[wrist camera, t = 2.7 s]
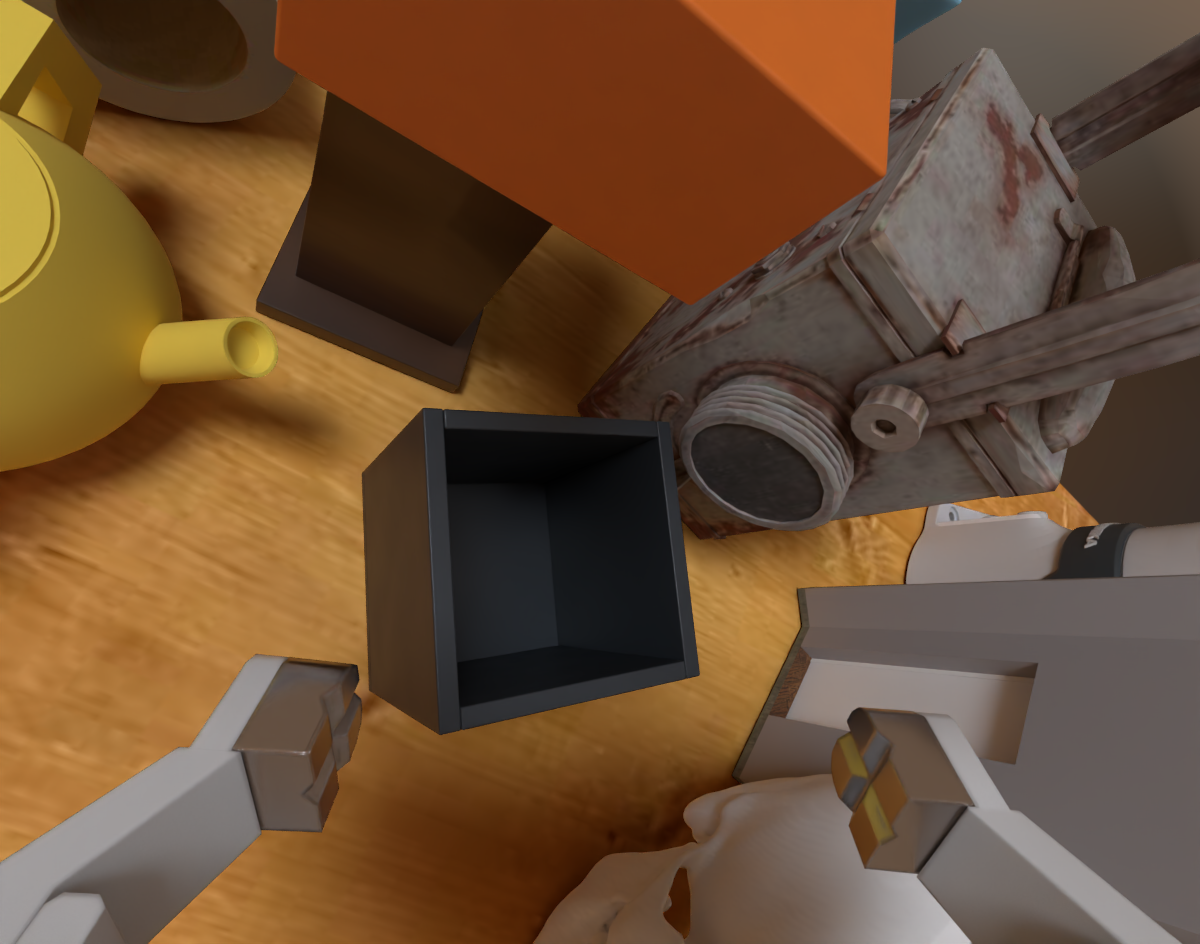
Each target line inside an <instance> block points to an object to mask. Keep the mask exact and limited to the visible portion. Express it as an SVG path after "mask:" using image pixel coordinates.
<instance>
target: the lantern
mask: <svg viewBox="0 0 1200 944" xmlns="http://www.w3.org/2000/svg"><path fill="white" fill-rule="evenodd" d="M1199 106H1200V33H1199V34H1197V35H1195V36H1194V37H1192V38H1190V39H1188V40H1187V41H1185V42H1183V43H1181V44H1180V45H1178V46H1176V47H1175V48H1173V49H1171V50H1170V51H1168V52H1166V53H1164V54H1163V55H1161V56H1159V57H1157V58H1156V59H1154V60H1152V61H1150V62H1149V63H1147V64H1145V65H1143V66H1142V67H1140V68H1138V69H1137V70H1135V71H1133V72H1131V73H1130V74H1128V75H1126V76H1124V77H1123V78H1121V79H1119V80H1118V81H1116V82H1114V83H1112V84H1111V85H1109V86H1107V87H1105V88H1104V89H1102V90H1100V91H1099V92H1097V93H1095V94H1093V95H1092V96H1090V97H1088V98H1087V99H1085V100H1083V101H1081V102H1080V103H1078V104H1076V105H1075V106H1073V107H1071V108H1069V109H1068V110H1066V111H1064V112H1062V113H1061V114H1059V115H1057V116H1056V117H1054V118H1052V127H1051V128H1049V127H1050V124H1049V123H1048V122H1047V121H1046V119H1045V118H1044V117H1043V115H1042V114H1041V113H1040V114H1038V115H1037V116H1036V118H1035V120H1034V118H1033V117H1032V115H1031V113H1030V112H1029V110H1028V108H1027V106H1026V105H1025V103H1024V101H1023V100H1022V98H1021V96H1020V94H1019V93H1018V91H1017V89H1016V87H1015V86H1014V84H1013V83H1012V81H1011V79H1010V77H1009V76H1008V74H1007V72H1006V70H1005V69H1004V67H1003V65H1002V63H1001V62H1000V60H999V58H998V57H997V55H996V53H995V52H994V50H993V49H987V48H982V49H980V50H979V51H978V52H977V53H975V54H974V55H973V56H971V57H970V58H969V59H967V60H966V61H965V62H963V63H962V64H960V65H959V67H956V68H954V69H953V70H952V71H950V72H949V73H948V74H946V76H945V77H944V79H943V80H942V81H941V82H940V83H939V84H937V85H936V86H934V87H933V88H932V89H930V90H929V91H928V92H926V93H925V94H924V95H922V96H921V97H920V98H919V97H918V98H915V99H912V100H900V99H895V100H890V119H889V137H888V156H887V173H886V175H885V176H884V177H883V179H881V180H880V181H878V182H877V183H875V184H874V185H872V186H871V187H869V188H868V189H866V190H865V191H863V192H862V193H860V194H859V195H857V196H856V197H854V198H853V199H851V200H850V201H848V202H847V203H845V204H844V205H842V206H841V207H839V208H838V209H836V210H835V211H833V212H832V213H830V214H829V215H827V216H826V217H824V218H823V219H821V220H820V221H818V222H817V223H815V224H814V225H812V226H811V227H809V228H808V229H806V230H805V231H803V232H802V233H800V234H799V235H797V236H796V237H794V238H793V239H791V240H789V241H788V242H786V243H785V244H783V245H782V246H780V247H779V248H777V249H776V250H774V251H773V252H771V253H770V254H768V255H767V256H765V257H764V258H762V259H761V260H759V261H758V262H756V263H755V264H753V265H752V266H750V267H749V268H747V269H746V270H744V271H743V272H741V273H740V274H738V275H737V276H735V277H734V278H732V279H731V280H729V281H728V282H726V283H725V284H723V285H722V286H720V287H719V288H717V289H716V290H714V291H713V292H711V293H710V294H708V295H707V296H705V297H704V298H702V299H701V300H699V301H698V302H696V303H695V304H693V305H688V304H686V303H684V302H683V301H681V300H679V299H678V298H676V297H674V296H673V295H671V296H670V297H669V298H668V300H667V301H666V302H665V303H664V304H663V305H662V307H661V308H660V309H659V310H658V311H657V312H656V314H655V315H654V316H653V317H652V318H651V319H650V321H649V322H648V323H647V324H646V325H645V326H644V328H643V329H642V330H641V331H640V332H639V333H638V335H637V336H636V337H635V338H634V339H633V341H632V342H631V343H630V344H629V345H628V346H627V348H626V349H625V350H624V351H623V352H622V353H621V355H620V356H619V357H618V358H617V359H616V360H615V362H614V363H613V364H612V365H611V366H610V367H609V369H608V370H607V371H606V372H605V373H604V374H603V376H602V377H601V378H600V379H599V380H598V382H597V383H596V384H595V385H594V386H593V387H592V389H591V390H590V391H589V392H588V393H587V394H586V396H585V397H584V398H583V399H582V400H581V401H580V403H579V404H578V412H579V413H580V414H581V415H582V416H583V417H590V418H608V419H626V420H643V421H655V422H656V421H663V422H669V423H670V431H671V440H672V448H673V456H674V465H675V473H676V481H677V490H678V498H679V506H680V514H681V520H682V521H683V522H684V523H685V524H686V525H687V526H688V527H689V528H690V529H691V530H692V531H693V532H694V533H695V534H696V536H697V537H698V538H699V539H709V538H714V539H725V538H726V536H730V535H736V534H743V533H750V532H757V531H764V530H770V529H776V530H782V531H803V530H809V529H814V528H816V527H819V526H821V525H823V524H826V523H828V522H829V521H832V520H838V519H845V518H852V517H859V516H866V515H872V514H879V513H886V512H893V511H900V510H906V509H913V508H920V507H927V506H934V505H940V504H947V503H954V502H961V501H968V500H974V499H981V498H988V497H995V496H1000V497H1001V498H1003V497H1013V496H1020V495H1030V494H1037V493H1044V492H1051V491H1055V489H1056V488H1057V486H1058V484H1059V482H1060V477H1061V473H1062V469H1063V465H1064V460H1065V456H1066V451H1067V448H1068V447H1070V446H1073V445H1076V444H1078V443H1079V442H1081V441H1082V440H1083V439H1084V438H1086V436H1087V435H1088V433H1089V431H1090V429H1091V427H1092V426H1093V424H1094V422H1095V420H1096V419H1097V417H1098V416H1099V414H1100V412H1101V411H1102V409H1103V406H1104V404H1105V401H1106V399H1107V397H1108V394H1109V392H1110V390H1111V387H1112V385H1113V382H1114V380H1115V379H1117V378H1121V377H1125V376H1129V375H1133V374H1136V373H1140V372H1144V371H1148V370H1151V369H1155V368H1158V367H1162V366H1165V365H1168V364H1172V363H1175V362H1178V361H1181V360H1185V359H1188V358H1192V357H1195V356H1198V355H1200V258H1198V259H1196V260H1194V261H1191V262H1189V263H1187V264H1184V265H1182V266H1179V267H1176V268H1173V269H1170V270H1168V271H1164V272H1161V273H1158V274H1156V275H1153V276H1150V277H1147V278H1144V279H1141V280H1138V281H1136V279H1135V276H1134V272H1133V268H1132V264H1131V261H1130V257H1129V253H1128V251H1127V248H1126V246H1125V244H1124V241H1123V238H1122V236H1121V235H1120V234H1119V233H1118V232H1117V231H1116V229H1115V228H1114V227H1108V226H1102V227H1099V228H1097V227H1096V225H1095V223H1094V221H1093V220H1092V218H1091V216H1090V214H1089V213H1088V211H1087V209H1086V208H1085V206H1084V204H1083V202H1082V201H1081V199H1080V197H1079V196H1078V194H1077V189H1078V185H1079V181H1080V180H1079V178H1078V176H1077V174H1076V172H1075V170H1074V168H1073V166H1075V167H1076V168H1078V169H1080V170H1082V169H1084V168H1086V167H1088V166H1090V165H1092V164H1094V163H1095V162H1097V161H1099V160H1101V159H1103V158H1105V157H1106V156H1108V155H1110V154H1112V153H1114V152H1116V151H1118V150H1119V149H1121V148H1123V147H1125V146H1127V145H1129V144H1131V143H1132V142H1134V141H1136V140H1138V139H1140V138H1142V137H1144V136H1145V135H1147V134H1149V133H1151V132H1153V131H1155V130H1157V129H1158V128H1160V127H1162V126H1164V125H1166V124H1168V123H1170V122H1171V121H1173V120H1175V119H1177V118H1179V117H1181V116H1182V115H1184V114H1186V113H1188V112H1190V111H1192V110H1194V109H1195V108H1197V107H1199ZM1071 167H1072V168H1071Z"/></svg>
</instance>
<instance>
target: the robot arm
mask: <svg viewBox="0 0 1200 944" xmlns="http://www.w3.org/2000/svg"><path fill="white" fill-rule="evenodd" d="M1189 574H1200V522H1198V523H1189V524H1181V525H1171V526H1159V527H1148V528H1146V527H1144V526H1143V525H1140V524H1137V523H1127V524H1120V523H1105V524H1100V525H1097V526H1086V527H1079V528H1076V529H1074V530H1070V529H1067V528H1065V527H1062V526H1060V525H1058V524H1057V523H1055V522H1054V521H1052V520H1050V519H1048V514H1046V512H1042V511H1026V512H1020V513H1018V514H1017V515H1012V516H1001V517H999V516H994V515H988V514H985V513H981V512H978V511H974V510H971V509H967V508H964V507H961V506H957V505H954V504H950V503H947V504H940V505H934V506H929V507H928V511H927V515H926V521H925V527H924V530H923V532H922V534H921V536H920V538H919V539H918V541H917V543H916V544H915V546H914V548H913V551H912V553H911V556H910V560H909V563H908V568H907V575H906V584H927V583H956V582H985V581H1014V580H1043V579H1073V578H1102V577H1131V576H1160V575H1189ZM358 682H359V673H358V667H357V665H354V664H346V663H338V662H329V661H320V660H311V659H302V658H293V657H282V656H272V655H262V654H256V655H254V656H253V657H252V658H251V659H249V660H248V661H247V662H246V663H245V664H244V666H243V667H242V669H241V671H240V672H239V674H238V675H237V677H236V678H235V680H234V681H233V683H232V684H231V686H230V687H229V689H228V690H227V692H226V693H225V695H224V696H223V698H222V699H221V701H220V702H219V704H218V705H217V707H216V708H215V710H214V711H213V713H212V714H211V716H210V717H209V719H208V720H207V722H206V723H205V725H204V726H203V728H202V729H201V731H200V732H199V734H198V735H197V737H196V738H195V740H194V741H193V743H192V744H191V746H190V747H178V748H176V749H175V750H173V751H172V752H170V753H169V754H167V755H165V756H164V757H162V758H161V759H159V760H158V761H156V762H155V763H153V764H151V765H150V766H148V767H147V768H145V769H144V770H142V771H141V772H139V773H138V774H136V775H134V776H133V777H131V778H130V779H128V780H127V781H125V782H124V783H122V784H121V785H119V786H117V787H116V788H114V789H113V790H111V791H110V792H108V793H107V794H105V795H104V796H102V797H100V798H99V799H97V800H96V801H94V802H93V803H91V804H90V805H88V806H87V807H85V808H83V809H82V810H80V811H79V812H77V813H76V814H74V815H73V816H71V817H70V818H68V819H66V820H65V821H63V822H62V823H60V824H59V825H57V826H56V827H54V828H53V829H51V830H49V831H48V832H46V833H45V834H43V835H42V836H40V837H39V838H37V839H36V840H34V841H32V842H31V843H29V844H28V845H26V846H25V847H23V848H22V849H20V850H19V851H17V852H15V853H14V854H12V855H11V856H9V857H8V858H6V859H5V860H3V861H2V862H0V944H147V943H148V942H150V941H151V940H152V939H153V938H154V937H155V936H156V935H157V934H158V933H159V932H160V931H161V930H162V929H163V928H164V927H165V926H166V925H167V924H168V923H169V922H170V921H171V920H172V919H173V918H175V917H176V916H177V915H178V914H179V913H180V912H181V911H182V910H183V909H184V908H185V907H186V906H187V905H188V904H189V903H190V902H191V901H192V900H193V899H194V898H195V897H196V896H197V895H198V894H199V893H201V892H202V891H203V890H204V889H205V888H206V887H207V886H208V885H209V884H210V883H211V882H212V881H213V880H214V879H215V878H216V877H217V876H218V875H219V874H220V873H221V872H222V871H223V870H224V869H226V868H227V867H228V866H229V865H230V864H231V863H232V862H233V861H234V860H235V859H236V858H237V857H238V856H239V855H240V854H241V853H242V852H243V851H244V850H245V849H246V848H247V847H248V846H249V845H251V844H252V843H253V842H254V841H255V840H256V839H257V838H258V837H259V836H260V835H261V830H276V831H302V832H322V830H323V828H324V825H325V823H326V820H327V818H328V815H329V813H330V810H331V808H332V805H333V803H334V800H335V798H336V795H337V793H338V790H339V783H338V775H337V771H338V770H340V769H341V768H342V767H343V766H344V765H346V764H347V763H348V762H349V761H350V759H351V757H352V754H353V751H354V749H355V746H356V743H357V739H358V735H359V731H360V727H361V719H362V701H361V698H360V697H358V696H357V695H356V694H355V693H354V692H355V689H356V687H357V685H358ZM847 724H848V726H849V729H850V731H849V732H848V733H846V734H845V735H843V736H841V737H840V738H838V739H837V741H836V743H835V746H834V748H833V750H832V756H831V773H832V778H833V783H834V786H835V789H836V792H837V795H838V798H839V799H840V800H841V801H842V802H843V803H844V804H845V805H846V806H847V807H848V808H849V809H850V810H851V811H852V812H853V813H852V816H851V819H850V822H849V828H850V831H851V833H852V836H853V839H854V842H855V844H856V847H857V850H858V852H859V855H860V858H861V860H862V863H863V866H864V869H871V870H882V871H892V872H902V873H912V874H918V875H917V878H918V879H919V881H920V882H921V883H922V884H923V885H924V887H925V888H926V889H927V890H928V891H929V892H930V894H931V895H932V896H933V897H934V898H935V900H936V901H937V902H938V903H939V904H940V906H941V907H942V908H943V909H944V910H945V911H946V913H947V914H948V915H949V916H950V917H951V919H952V920H953V921H954V922H955V923H956V924H957V926H958V927H959V928H960V929H961V930H962V932H963V933H964V934H965V935H966V936H967V937H968V939H969V940H970V941H971V942H972V943H973V944H1182V943H1181V942H1179V941H1178V940H1177V939H1176V938H1175V937H1173V936H1172V935H1171V934H1170V933H1168V932H1167V931H1166V930H1165V929H1163V928H1162V927H1161V926H1160V925H1159V924H1157V923H1156V922H1155V921H1154V920H1152V919H1151V918H1150V917H1149V916H1148V915H1146V914H1145V913H1144V912H1143V911H1141V910H1140V909H1139V908H1138V907H1137V906H1135V905H1134V904H1133V903H1132V902H1130V901H1129V900H1128V899H1127V898H1125V897H1124V896H1123V895H1122V894H1121V893H1119V892H1118V891H1117V890H1116V889H1114V888H1113V887H1112V886H1111V885H1110V884H1108V883H1107V882H1106V881H1105V880H1103V879H1102V878H1101V877H1100V876H1099V875H1097V874H1096V873H1095V872H1094V871H1092V870H1091V869H1090V868H1089V867H1087V866H1086V865H1085V864H1084V863H1083V862H1081V861H1080V860H1079V859H1078V858H1076V857H1075V856H1074V855H1073V854H1072V853H1070V852H1069V851H1068V850H1067V849H1065V848H1064V847H1063V846H1062V845H1060V844H1059V843H1058V842H1057V841H1056V840H1054V839H1053V838H1052V837H1051V836H1049V835H1048V834H1047V833H1046V832H1045V831H1043V830H1042V829H1041V828H1040V827H1038V826H1037V825H1036V824H1035V823H1034V822H1032V821H1031V820H1030V819H1029V818H1027V817H1026V816H1025V815H1024V814H1022V813H1021V812H1020V811H1016V810H1010V809H1009V807H1008V806H1007V804H1006V803H1005V801H1004V799H1003V798H1002V796H1001V794H1000V793H999V791H998V790H997V788H996V786H995V785H994V783H993V781H992V780H991V778H990V777H989V775H988V773H987V772H986V770H985V768H984V767H983V765H982V764H981V762H980V760H979V759H978V757H977V755H976V754H975V752H974V751H973V749H972V747H971V746H970V744H969V742H968V741H967V739H966V738H965V736H964V734H963V733H962V731H961V729H960V728H959V726H958V725H957V723H956V722H955V720H953V719H952V718H951V717H950V716H949V715H947V714H935V713H924V712H914V711H906V710H892V709H878V708H864V707H858V708H856V709H855V710H853V711H852V712H851V714H850V716H849V718H848V719H847Z"/></svg>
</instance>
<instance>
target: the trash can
mask: <svg viewBox="0 0 1200 944" xmlns="http://www.w3.org/2000/svg"><path fill="white" fill-rule="evenodd" d="M362 493H363V523H364V553H365V583H366V613H367V643H368V673H369V691H371V692H372V693H374V694H376V695H377V696H379V697H380V698H382V699H384V700H385V701H387V702H388V703H390V704H391V705H393V706H395V707H396V708H398V709H399V710H401V711H403V712H404V713H406V714H407V715H409V716H411V717H412V718H414V719H415V720H417V721H418V722H420V723H422V724H423V725H425V726H426V727H428V728H430V729H431V730H433V731H434V732H436V733H437V734H439V735H443V734H448V733H452V732H456V731H460V730H465V729H470V728H474V727H478V726H483V725H487V724H491V723H496V722H500V721H504V720H509V719H513V718H517V717H522V716H526V715H530V714H535V713H539V712H544V711H548V710H552V709H557V708H561V707H565V706H570V705H574V704H578V703H583V702H587V701H591V700H596V699H600V698H604V697H609V696H613V695H618V694H622V693H626V692H631V691H635V690H639V689H644V688H648V687H652V686H657V685H661V684H665V683H670V682H674V681H678V680H683V679H686V678H691V677H696V676H699V675H700V672H699V664H698V655H697V647H696V639H695V631H694V622H693V614H692V606H691V597H690V589H689V581H688V572H687V564H686V556H685V548H684V539H683V531H682V523H681V514H680V506H679V498H678V490H677V481H676V473H675V465H674V456H673V448H672V440H671V431H670V423H669V422H663V421H656V422H655V421H643V420H626V419H608V418H590V417H573V416H555V415H537V414H520V413H502V412H484V411H467V410H449V409H445V410H442V409H434V408H423V409H422V410H421V411H420V412H419V413H418V414H417V415H416V416H415V417H414V418H413V419H412V420H411V422H410V423H409V424H408V425H407V426H406V427H405V428H404V429H403V430H402V431H401V432H400V433H399V434H398V435H397V436H396V438H395V439H394V440H393V441H392V442H391V443H390V444H389V445H388V446H387V447H386V448H385V449H384V450H383V451H382V453H381V454H380V455H379V456H378V457H377V458H376V459H375V460H374V461H373V462H372V463H371V464H370V465H369V466H368V468H367V469H366V470H365V471H364V472H363V473H362Z"/></svg>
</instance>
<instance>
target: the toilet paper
mask: <svg viewBox="0 0 1200 944" xmlns="http://www.w3.org/2000/svg"><path fill="white" fill-rule="evenodd" d="M21 1H23V2H25V3H26V4H28V5H30V6H31V7H33V8H35V9H36V10H38V11H40V12H42V13H43V14H45V15H47V16H48V17H50V18H52V19H54V21H55V22H56V23H57V25H58V26H59V27H60V29H61V30H62V32H63V33H64V34H65V36H66V37H67V38H68V40H69V41H70V42H71V44H72V45H73V46H74V48H75V49H76V50H77V52H78V53H79V55H80V56H81V57H82V59H83V60H84V61H85V63H86V64H87V65H88V67H89V68H90V69H91V71H92V72H93V73H94V75H95V76H96V77H97V79H98V80H99V82H100V83H101V84H102V87H101V91H100V94H99V98H100V99H102V100H104V101H107V102H109V103H112V104H114V105H117V106H119V107H122V108H125V109H128V110H131V111H135V112H138V113H141V114H145V115H149V116H153V117H158V118H163V119H169V120H175V121H183V122H202V123H209V122H223V121H231V120H236V119H241V118H244V117H248V116H251V115H254V114H256V113H259V112H261V111H263V110H265V109H267V108H268V107H270V106H271V105H273V104H274V103H275V102H277V101H278V100H279V99H280V98H281V97H282V96H283V95H284V94H285V93H286V91H287V90H288V89H289V87H290V85H291V84H292V82H293V80H294V77H295V74H296V72H295V71H294V70H292V69H290V68H289V67H287V66H285V65H284V64H282V63H280V62H279V61H278V60H277V59H276V58H275V56H274V46H275V31H276V16H277V1H278V0H21Z"/></svg>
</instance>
